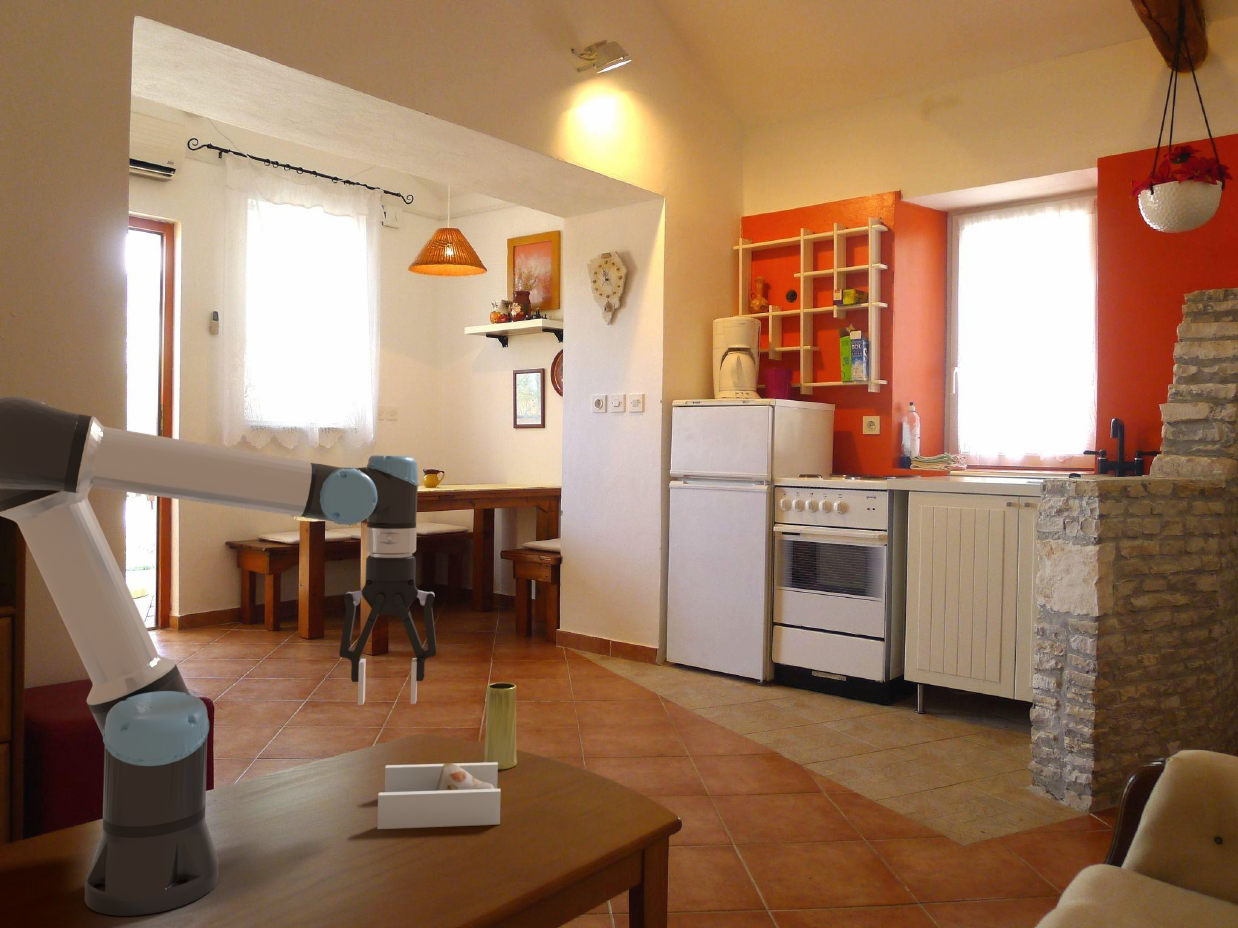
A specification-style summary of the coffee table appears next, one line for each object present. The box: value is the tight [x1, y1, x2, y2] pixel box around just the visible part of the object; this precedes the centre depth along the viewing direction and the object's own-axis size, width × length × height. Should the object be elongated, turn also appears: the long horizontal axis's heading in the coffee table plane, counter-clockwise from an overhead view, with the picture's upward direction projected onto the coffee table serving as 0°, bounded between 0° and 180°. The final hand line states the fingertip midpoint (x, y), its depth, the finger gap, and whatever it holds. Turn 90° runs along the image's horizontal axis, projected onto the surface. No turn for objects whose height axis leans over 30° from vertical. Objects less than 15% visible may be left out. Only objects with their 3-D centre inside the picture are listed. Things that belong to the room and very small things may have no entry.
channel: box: [376, 762, 501, 830], centre depth 146 cm, size 18×14×5 cm
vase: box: [482, 681, 518, 770], centre depth 168 cm, size 6×6×14 cm
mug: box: [435, 762, 495, 791], centre depth 147 cm, size 8×10×10 cm
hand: (387, 701), depth 144 cm, fingers open, 7 cm apart
